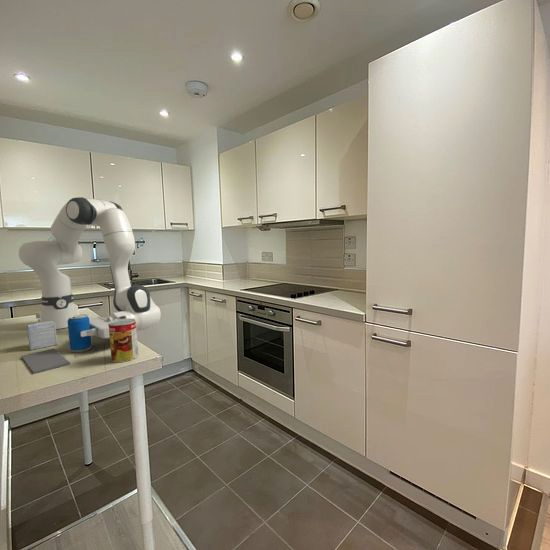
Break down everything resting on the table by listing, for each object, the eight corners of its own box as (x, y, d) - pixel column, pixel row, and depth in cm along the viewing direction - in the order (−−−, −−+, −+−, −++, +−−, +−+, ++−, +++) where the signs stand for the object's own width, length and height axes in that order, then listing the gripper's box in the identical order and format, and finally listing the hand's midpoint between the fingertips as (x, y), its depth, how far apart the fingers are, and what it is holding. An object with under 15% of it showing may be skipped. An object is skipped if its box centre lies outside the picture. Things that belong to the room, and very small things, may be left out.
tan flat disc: (70, 350, 109) (70, 350, 109) (87, 346, 113) (87, 346, 113) (75, 353, 105) (75, 353, 105) (92, 349, 109) (92, 349, 109)
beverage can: (76, 346, 112) (73, 314, 111) (95, 345, 113) (92, 313, 111) (66, 353, 106) (62, 318, 104) (86, 352, 106) (82, 318, 105)
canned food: (113, 355, 103) (110, 320, 101) (139, 351, 106) (136, 317, 104) (109, 364, 96) (106, 326, 94) (137, 360, 98) (134, 323, 97)
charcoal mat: (21, 357, 103) (21, 355, 103) (53, 350, 110) (53, 348, 110) (33, 373, 90) (33, 371, 90) (69, 364, 96) (69, 362, 96)
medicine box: (55, 342, 118) (52, 320, 117) (57, 345, 115) (55, 322, 114) (29, 348, 113) (26, 324, 112) (30, 350, 110) (28, 327, 109)
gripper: (107, 311, 124) (67, 318, 114) (128, 319, 111) (85, 328, 100) (108, 326, 125) (69, 335, 115) (130, 336, 111) (87, 347, 101)
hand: (76, 331), depth 108 cm, fingers closed on beverage can, 6 cm apart
